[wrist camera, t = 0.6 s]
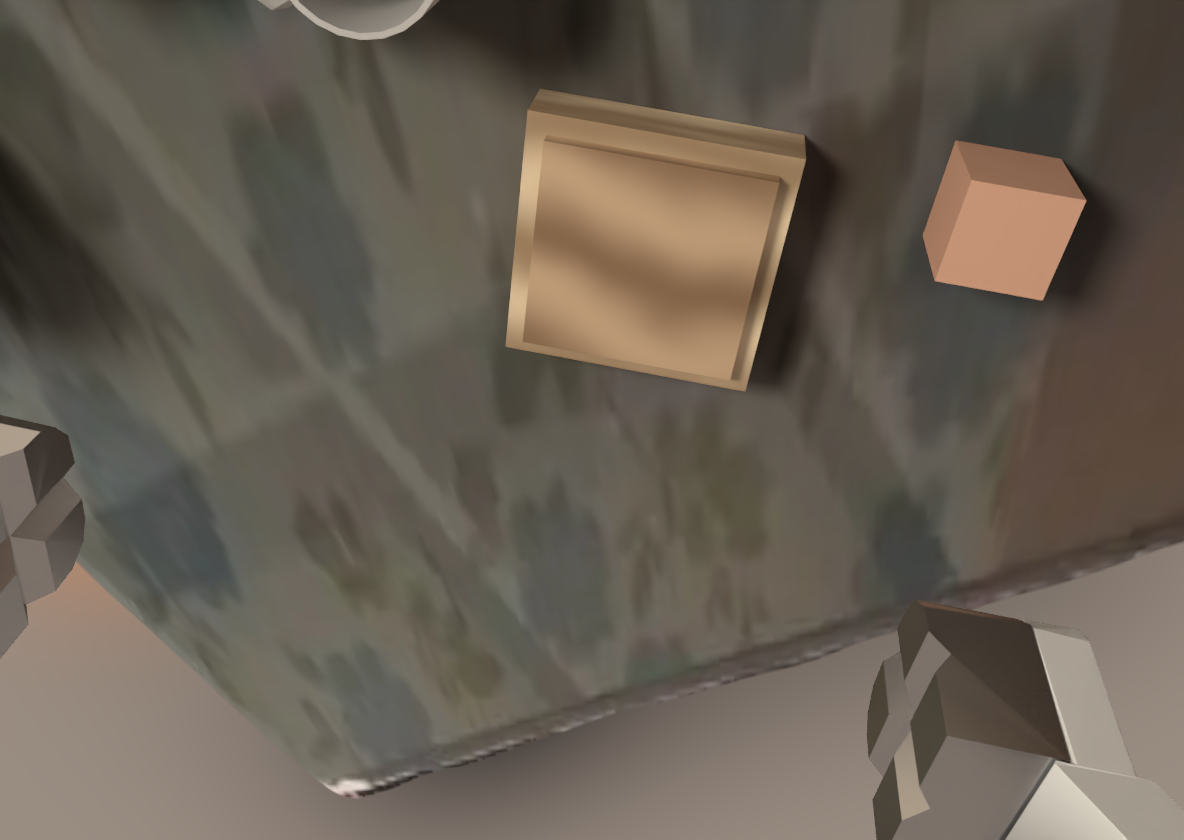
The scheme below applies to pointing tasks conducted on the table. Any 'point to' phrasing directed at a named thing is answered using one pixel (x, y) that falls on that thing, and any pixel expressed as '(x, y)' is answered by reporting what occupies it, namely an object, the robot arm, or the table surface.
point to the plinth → (649, 237)
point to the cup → (359, 15)
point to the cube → (1001, 220)
